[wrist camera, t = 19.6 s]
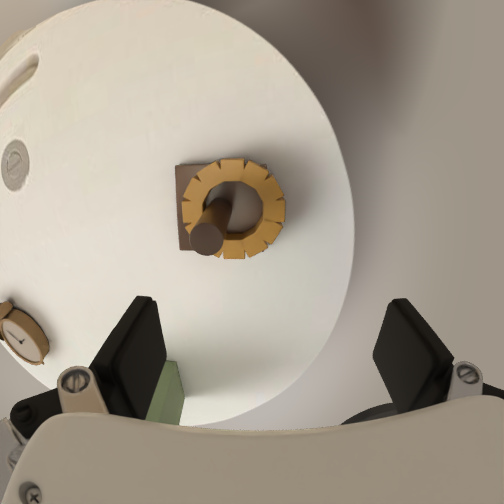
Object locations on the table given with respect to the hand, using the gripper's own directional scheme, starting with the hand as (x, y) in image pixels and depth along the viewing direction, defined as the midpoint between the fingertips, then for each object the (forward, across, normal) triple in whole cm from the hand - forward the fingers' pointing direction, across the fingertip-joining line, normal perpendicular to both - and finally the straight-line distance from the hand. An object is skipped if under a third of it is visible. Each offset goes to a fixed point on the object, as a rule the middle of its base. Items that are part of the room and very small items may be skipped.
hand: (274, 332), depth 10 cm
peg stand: (+19, +4, -1) cm, 20 cm away
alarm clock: (+20, +44, +20) cm, 52 cm away
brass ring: (+17, +3, -1) cm, 17 cm away
